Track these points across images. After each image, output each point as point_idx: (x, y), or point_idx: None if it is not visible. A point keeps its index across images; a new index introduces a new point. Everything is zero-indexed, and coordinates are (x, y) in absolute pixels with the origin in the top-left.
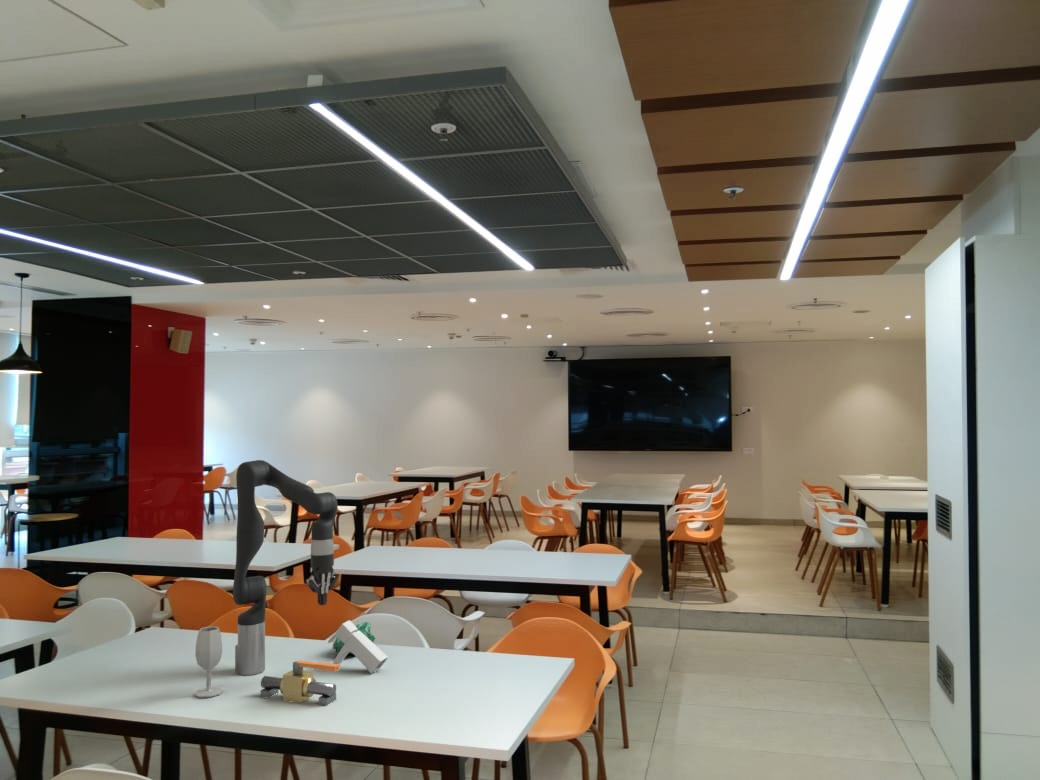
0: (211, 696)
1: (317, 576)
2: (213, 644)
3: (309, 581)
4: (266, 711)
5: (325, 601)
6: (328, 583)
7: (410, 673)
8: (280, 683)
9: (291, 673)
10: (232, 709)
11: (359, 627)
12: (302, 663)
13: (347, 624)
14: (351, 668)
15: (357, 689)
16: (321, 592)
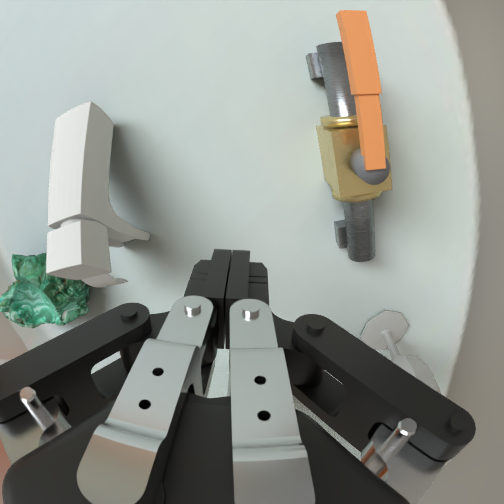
0: (398, 312)
1: (365, 496)
2: (430, 386)
3: (467, 429)
4: (425, 159)
5: (221, 258)
6: (159, 358)
7: (67, 55)
8: (381, 192)
9: None
10: (435, 231)
11: (18, 311)
12: (383, 141)
13: (67, 254)
14: (114, 202)
15: (216, 63)
16: (270, 313)
